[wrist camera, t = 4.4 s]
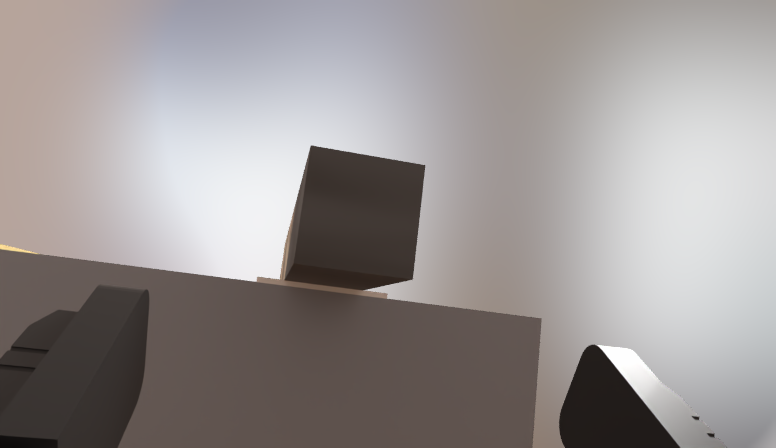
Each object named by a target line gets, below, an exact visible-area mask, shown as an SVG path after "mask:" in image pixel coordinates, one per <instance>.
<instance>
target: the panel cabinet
mask: <svg viewBox="0 0 776 448" xmlns="http://www.w3.org/2000/svg"><path fill="white" fill-rule="evenodd" d="M99 284H107V285H115V286H123V287H131V288H140V289H147V290H148V291H149V316H148V331H147V345H146V359H145V371H144V378H143V383H142V388H141V392H140V395H139V399H138V402H137V405H136V407H135V409H134V412H133V414H132V416H131V419H130V421H129V423H128V425H127V428H126V430H125V432H124V435H123V437H122V439H121V441H120V444H119V446H118V448H532V444H533V430H534V415H535V402H536V388H537V373H538V360H539V359H538V358H539V346H540V331H541V318H532V317H525V316H517V315H510V314H501V313H494V312H486V311H478V310H470V309H462V308H455V307H447V306H439V305H432V304H423V303H415V302H408V301H400V300H393V299H387V294H386V293H379V292H371V291H363V290H355V289H347V288H339V287H332V286H324V285H316V284H309V283H301V282H293V281H285V280H279V279H271V278H263V277H257V282H252V281H244V280H237V279H229V278H221V277H213V276H205V275H198V274H189V273H182V272H174V271H166V270H159V269H151V268H143V267H135V266H127V265H120V264H112V263H104V262H96V261H88V260H79V259H73V258H65V257H57V256H49V255H42V254H38V253H33V252H29V251H25V250H21V249H18V248H13V247H10V246H6V245H2V244H0V358H1V357H2V356H3V355H4V354H5V353H6V351H7V350H9V351H10V349H11V346H12V344H13V343H14V342H15V341H16V340H17V339H18V338H19V336H20V335H21V334H22V333H23V332H24V331H25V329H26V328H27V327H28V326H29V325H31V324H32V323H34V322H36V321H38V320H40V319H42V318H44V317H45V316H47V315H49V314H51V313H53V312H55V311H57V310H67V311H75V312H78V311H79V310H80V309H81V307H82V306H83V305H84V303H85V302H86V300H87V299H88V298H89V296H90V295H91V294H92V292H93V291H94V290H95V288H96V287H97V286H98V285H99Z"/></svg>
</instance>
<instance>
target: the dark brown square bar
mask: <svg viewBox="0 0 776 448" xmlns="http://www.w3.org/2000/svg"><path fill="white" fill-rule="evenodd" d="M424 172H425V165H420V164H414V163H409V162H403V161H397V160H391V159H385V158H380V157H374V156H368V155H363V154H357V153H351V152H344V151H339V150H334V149H328V148H322V147H316V146H311V147H310V151H309V155H308V159H307V162H306V166H305V170H304V174H303V178H302V182H301V185H300V190H299V193H298V197H297V201H296V204H295V208H294V212H293V216H292V220H291V224H290V227H289V231H288V235H287V239H286V243H285V248H284V255H283V261H282V268H281V275H280V280H285V281H293V282H301V283H309V284H316V285H324V286H332V287H339V288H347V289H355V290H367V289H371V288H376V287H380V286H385V285H390V284H394V283H399V282H403V281H408V280H412V279H413V271H414V263H415V254H416V253H415V252H416V245H417V235H418V227H419V217H420V207H421V199H422V190H423V180H424Z"/></svg>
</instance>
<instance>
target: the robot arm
mask: <svg viewBox="0 0 776 448" xmlns="http://www.w3.org/2000/svg"><path fill="white" fill-rule="evenodd" d="M148 316H149V291H148V290H147V289H140V288H131V287H123V286H115V285H107V284H99V285H98V286H97V287H96V288H95V290H94V291H93V292H92V294H91V295H90V296H89V298H88V299H87V300H86V302H85V303H84V305H83V306H82V307H81V309H80V310H79V311H78V312H75V311H67V310H57V311H55V312H53V313H51V314H49V315H47V316H45V317H44V318H42V319H40V320H38V321H36V322H34V323H32V324H31V325H29V326H28V327H27V328H26V329H25V331H24V332H23V333H22V334H21V335H20V336H19V338H18V339H17V340H16V341H15V342H14V343H13V344H12V346H11V349H10V351H9V350H7V351H6V353H5V354H4V355H3V356H2V357H1V358H0V448H118V446H119V444H120V441H121V439H122V437H123V435H124V432H125V430H126V428H127V425H128V423H129V421H130V419H131V416H132V414H133V412H134V409H135V407H136V405H137V402H138V399H139V395H140V392H141V388H142V383H143V378H144V371H145V359H146V345H147V331H148ZM559 428H560V435H561V439H562V442H563V445H564V446H565V448H727V447H726V446H725V445H724V444H723V442H722V441H721V440H720V439H719V438H715V437H714V433H713V432H712V430H711V429H710V428H709V427H708V426H707V425H706V424H705V423H704V422H703V421H700V420H699V416H698V415H697V414H696V413H695V412H694V410H693V409H692V408H691V407H690V406H689V405H688V404H687V403H686V402H685V400H684V399H682V397H681V396H680V395H678V394H677V393H675V392H674V391H673V390H671V389H670V388H669V387H667V386H666V385H664V384H663V383H661V381H660V380H659V379H658V378H657V377H656V376H655V375H654V373H653V372H652V371H651V370H650V369H649V368H648V367H647V366H646V364H645V363H644V362H643V361H642V360H641V359H640V358H639V357H638V355H637V354H636V353H635V352H634V351H632V350H630V349H626V348H617V347H609V346H601V345H590V346H588V347H587V348H586V349H585V350H584V352H583V354H582V356H581V358H580V361H579V364H578V366H577V369H576V372H575V374H574V377H573V380H572V382H571V385H570V388H569V390H568V393H567V396H566V398H565V401H564V404H563V406H562V409H561V413H560V420H559Z"/></svg>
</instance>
